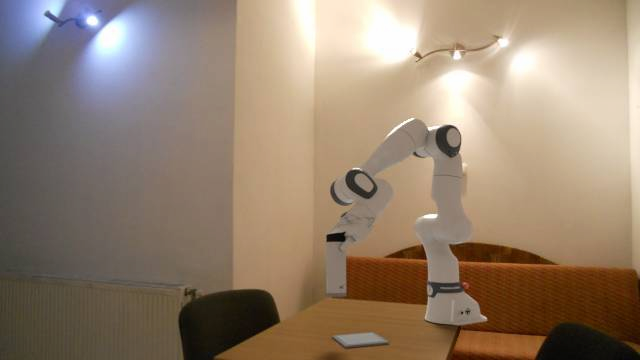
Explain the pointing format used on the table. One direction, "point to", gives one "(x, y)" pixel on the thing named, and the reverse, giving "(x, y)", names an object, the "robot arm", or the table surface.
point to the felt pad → (359, 340)
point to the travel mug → (335, 266)
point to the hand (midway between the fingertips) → (334, 250)
